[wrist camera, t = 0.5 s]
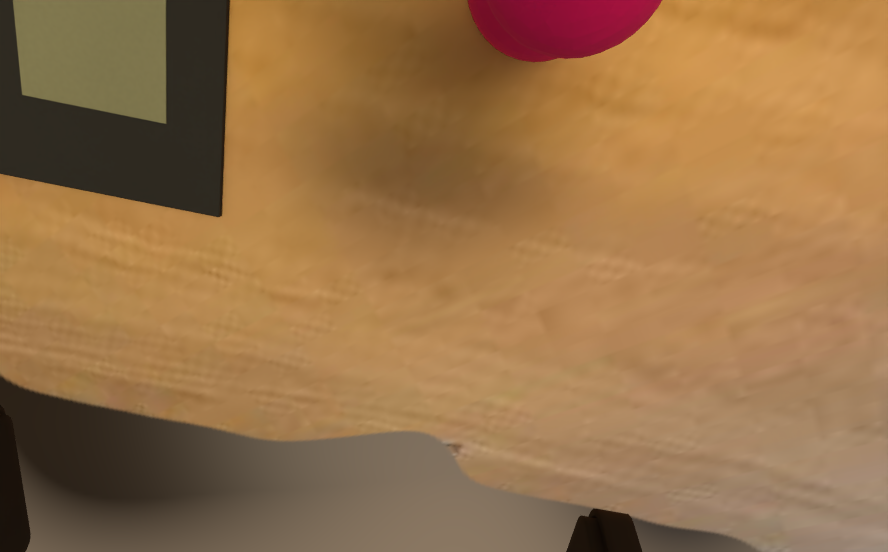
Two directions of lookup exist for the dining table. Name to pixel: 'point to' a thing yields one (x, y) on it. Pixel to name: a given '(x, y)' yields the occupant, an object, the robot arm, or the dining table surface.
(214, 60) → the mat
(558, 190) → the dining table surface
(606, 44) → the pepper mill
